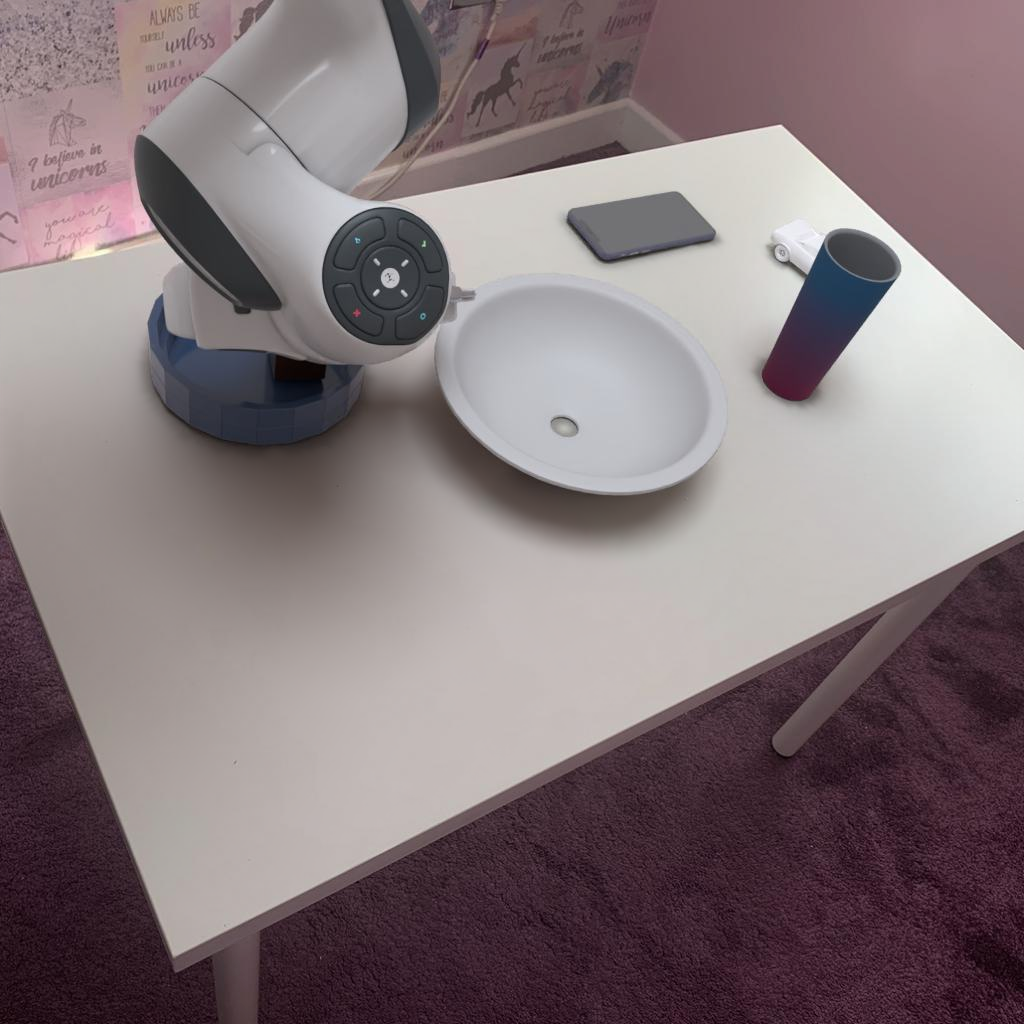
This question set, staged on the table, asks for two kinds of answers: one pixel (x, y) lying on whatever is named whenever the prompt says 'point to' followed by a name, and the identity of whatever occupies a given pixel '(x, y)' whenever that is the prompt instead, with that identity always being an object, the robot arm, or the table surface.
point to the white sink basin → (582, 384)
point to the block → (295, 369)
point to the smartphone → (640, 224)
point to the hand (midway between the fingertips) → (298, 306)
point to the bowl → (244, 390)
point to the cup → (829, 310)
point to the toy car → (797, 244)
